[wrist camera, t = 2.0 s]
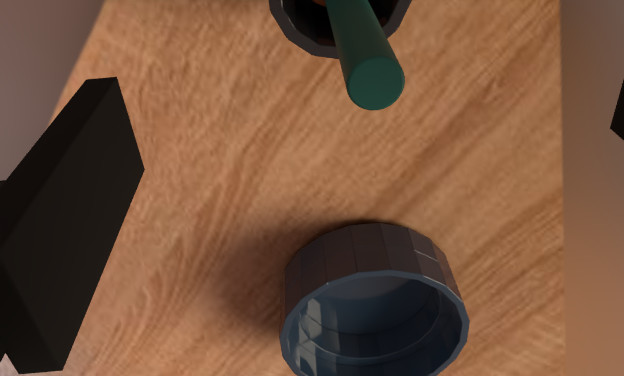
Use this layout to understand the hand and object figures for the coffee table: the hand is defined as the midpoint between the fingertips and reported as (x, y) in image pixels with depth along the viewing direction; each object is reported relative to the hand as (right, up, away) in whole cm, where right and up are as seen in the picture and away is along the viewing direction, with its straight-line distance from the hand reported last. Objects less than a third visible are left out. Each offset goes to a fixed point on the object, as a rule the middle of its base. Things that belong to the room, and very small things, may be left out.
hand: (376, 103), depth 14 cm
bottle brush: (-1, +11, +16) cm, 20 cm away
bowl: (+3, -11, +32) cm, 34 cm away
